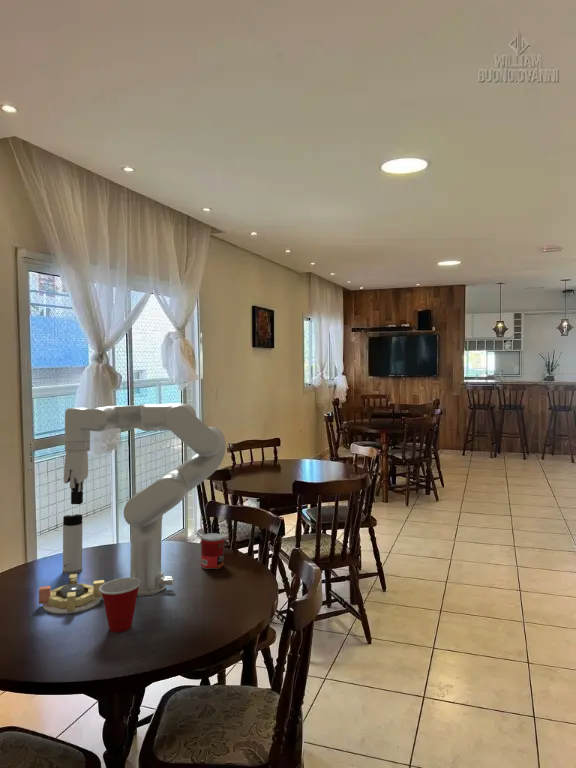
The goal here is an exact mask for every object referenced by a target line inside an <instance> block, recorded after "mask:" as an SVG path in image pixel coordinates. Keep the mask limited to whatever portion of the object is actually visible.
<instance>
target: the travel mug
mask: <svg viewBox="0 0 576 768" xmlns="http://www.w3.org/2000/svg"><path fill="white" fill-rule="evenodd" d="M62 517H63V518H62V519H63V523H62V573H63V574H64V575H71V574H77V575H78V574H79V573H81V572H82V571H83V514H78V513H77V514H74V515H70V514H68V515H64V516H62Z"/></svg>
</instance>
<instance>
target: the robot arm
mask: <svg viewBox="0 0 576 768" xmlns="http://www.w3.org/2000/svg"><path fill="white" fill-rule="evenodd" d="M111 429H112V430H113V429H136V430H137V429H138V430H141V431H145V432H157V431H171V432H172V434H174V435H175V436H176V437H177V438H178V439H180V441H182V442H183V444H185V445H186V446H187V447H189V449H190V450H192V451H193V452H194V454H193V455H192V456H190V457H189V458H188V459H186V461H184V462H182V463H181V464H180V465H179V466H177V467H176V468H173V470H170V471H168V472H167V473H165V474H163V475H162V476H161V477H160V478H159V479H157V480H156V481H154V482H153V483H152V484H150V485H148V486H147V487H145V488H144V489H142V490H140V491H138V492H137V493H136V494H134V495H133V496H132V497H131V498H130V499H128V501H127V502H126V503H125V505H124V508H123V517H124V520H125V522H126V523H127V524H128V525H129V526H130V528H131V529H130V577H129V578H136V579H139V580H140V581H141V582H140V586H139V589H138V594H137V597H138V596H139V597H140V596H141V597H143V596H144V595H145V596H151V595H156V594H158V592H159V593H161V592H162V590H163V591H164V590H165V589H166V587H167V586H174V584H175V579H174V578H173V576H166V575H165V574H164V573H165V572H164V571H162V536H163V535H162V534H163V532H162V531H163V529H162V528H163V516H164V515H165V514H166V513H167V512H169V511H171V510H172V509H173V508H175V507H176V506H177V505H178V504H179V503H181V502H182V500H183V499H184V498H185V496H187V494H188V493H189V492H191V491H192V490H194V488H196V487H197V486H199V485H200V484H202V483H203V482H204V481H205V480H207V479H208V478H210V477H211V476H212V475H213V474H214V473H215V472H216V471H217V470H218V469H219V467H220V466H221V463H223V460H224V457H225V455H226V449H227V448H226V445H227V444H226V438H225V435H224V432H223V431H222V430H220V429H219V428H218V427H215V426H208V425H207V424H205V423H204V422H203V421H202V420H201V419H199V417H197V413H196V410H195V408H194V407H193V406H192V405H191V404H188V403H157V404H154V403H153V404H152V403H151V404H149V403H148V404H139V405H107V406H106V405H105V406H100V407H95V408H88V407H77V406H76V407H68V408H66V410H65V412H64V452H65V456H64V468H63V470H64V471H63V483H64V484H68V483H69V489H70V504H71V505H81V504H83V502H84V482H85V480H86V479H87V478H89V477H88V476H89V455H88V452H89V451H91V432H97V433H98V432H104V431H108V430H111ZM160 591H161V592H160ZM155 593H156V594H155Z"/></svg>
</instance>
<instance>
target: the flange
mask: <svg viewBox="0 0 576 768" xmlns="http://www.w3.org/2000/svg"><path fill="white" fill-rule="evenodd" d="M65 585H66V586H64V587H62V588H61V596H60V598H64V599H66V598H67V593H69V592H76V597H80V596H82V595H84V594H85V593H84V586H83V585H81V584H80V583H77V584H70V585H69V584H65ZM101 599H102V597H95V599H94V600H92V601H90V602H88V603H86V604H84V605H82V606H77V607H75V611H67V608H58V607H55V606H51V605H49V603H43V604H42V609H43V610H44V612H45V613H48V614H51V615H57V616H58V615H59V616H61V615H62V616H66V615H67V616H68V615H75V614H79V613H83V612H87V611H89V610H91V609H93V608H95V607H96V606H98V605H99V604H100V603H101Z"/></svg>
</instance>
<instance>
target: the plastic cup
mask: <svg viewBox="0 0 576 768" xmlns="http://www.w3.org/2000/svg"><path fill="white" fill-rule="evenodd" d="M140 582H141V581H140V580H139V579H136V578H130V577H122V578H121V577H120V578H115V579H112V580H109V581H106V582H104V584H103V585H101V586H100V588H99V591H100V592H101V593H102V596H103V597H102V599H103V604H104V609H105V615H106V619H107V625H108V628H109V631H110V632H112V633H122V632H123V631H124V632H126V630H127V631H129V630H130V629H131V628H132V625H133V621H134V616H135V611H136V604H137V597H138V596H137V594H138V589H139V586H140ZM129 628H130V629H129ZM128 629H129V630H128ZM124 632H123V633H124Z"/></svg>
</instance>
